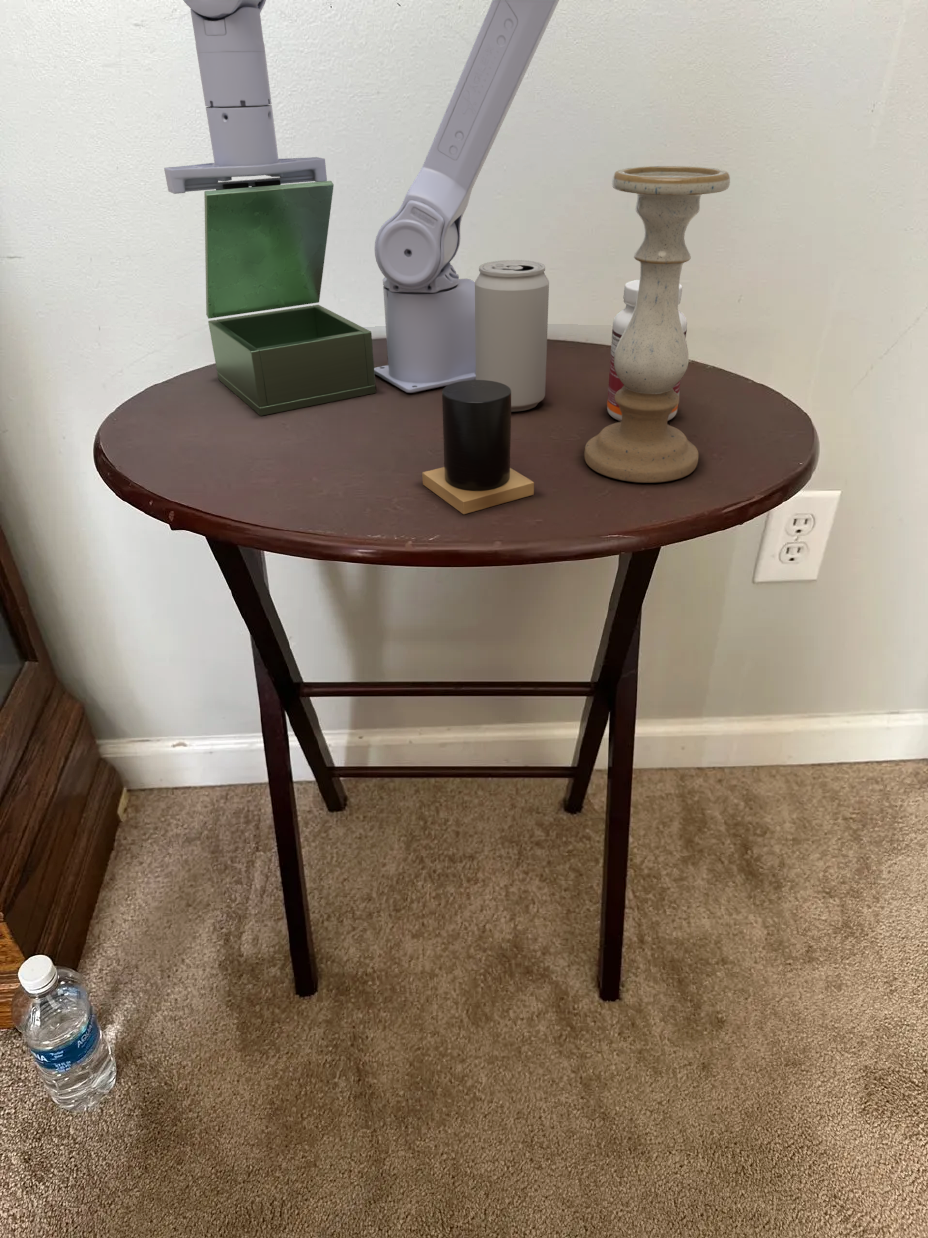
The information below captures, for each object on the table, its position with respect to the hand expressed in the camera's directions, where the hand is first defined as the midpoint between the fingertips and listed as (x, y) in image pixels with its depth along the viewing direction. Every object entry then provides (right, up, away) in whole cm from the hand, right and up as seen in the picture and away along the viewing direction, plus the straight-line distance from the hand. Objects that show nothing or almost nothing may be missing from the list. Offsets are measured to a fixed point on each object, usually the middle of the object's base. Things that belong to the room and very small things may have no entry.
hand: (261, 270), depth 82 cm
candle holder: (+33, -22, -15) cm, 43 cm away
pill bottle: (+35, -16, -6) cm, 39 cm away
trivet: (+21, -24, -19) cm, 37 cm away
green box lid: (+1, 0, -3) cm, 3 cm away
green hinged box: (+3, -11, +2) cm, 11 cm away
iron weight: (+21, -23, -20) cm, 37 cm away
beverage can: (+24, -14, -3) cm, 28 cm away
